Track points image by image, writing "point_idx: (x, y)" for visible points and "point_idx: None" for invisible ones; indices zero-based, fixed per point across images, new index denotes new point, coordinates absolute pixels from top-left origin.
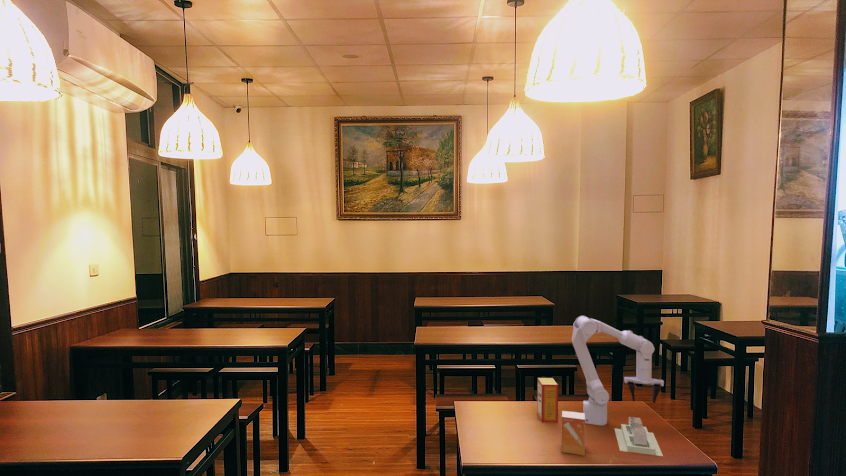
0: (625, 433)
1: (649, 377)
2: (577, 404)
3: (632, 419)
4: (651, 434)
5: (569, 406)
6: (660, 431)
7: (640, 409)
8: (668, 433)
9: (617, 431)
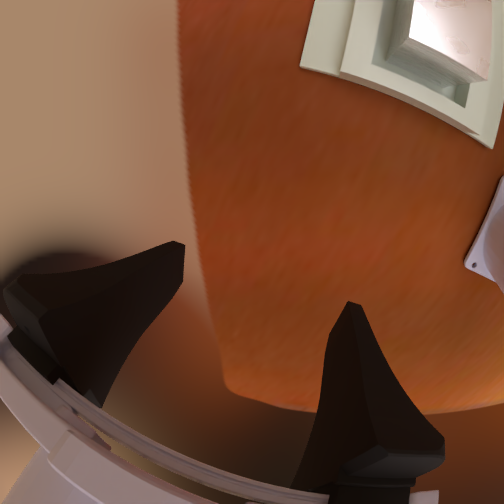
0: None
1: (16, 498)
2: (443, 395)
3: (474, 24)
4: (319, 43)
5: (478, 381)
6: (238, 117)
7: (237, 352)
8: (206, 97)
9: (492, 107)
